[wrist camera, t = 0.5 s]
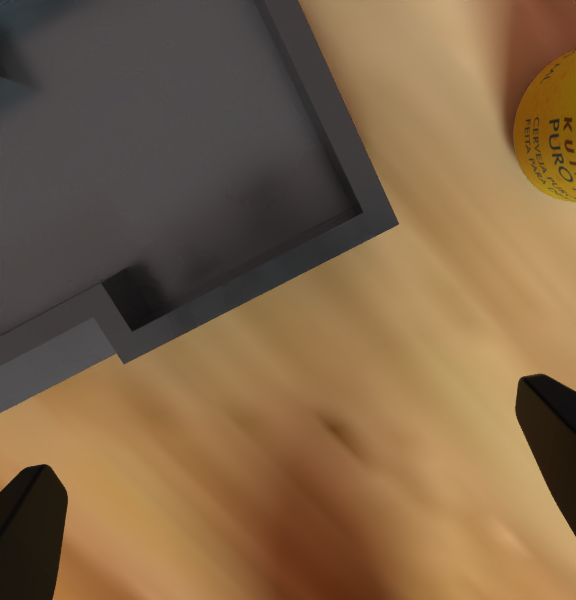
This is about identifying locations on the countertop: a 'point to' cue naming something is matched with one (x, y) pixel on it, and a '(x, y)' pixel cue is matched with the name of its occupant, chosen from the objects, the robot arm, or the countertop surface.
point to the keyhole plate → (162, 173)
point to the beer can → (549, 129)
